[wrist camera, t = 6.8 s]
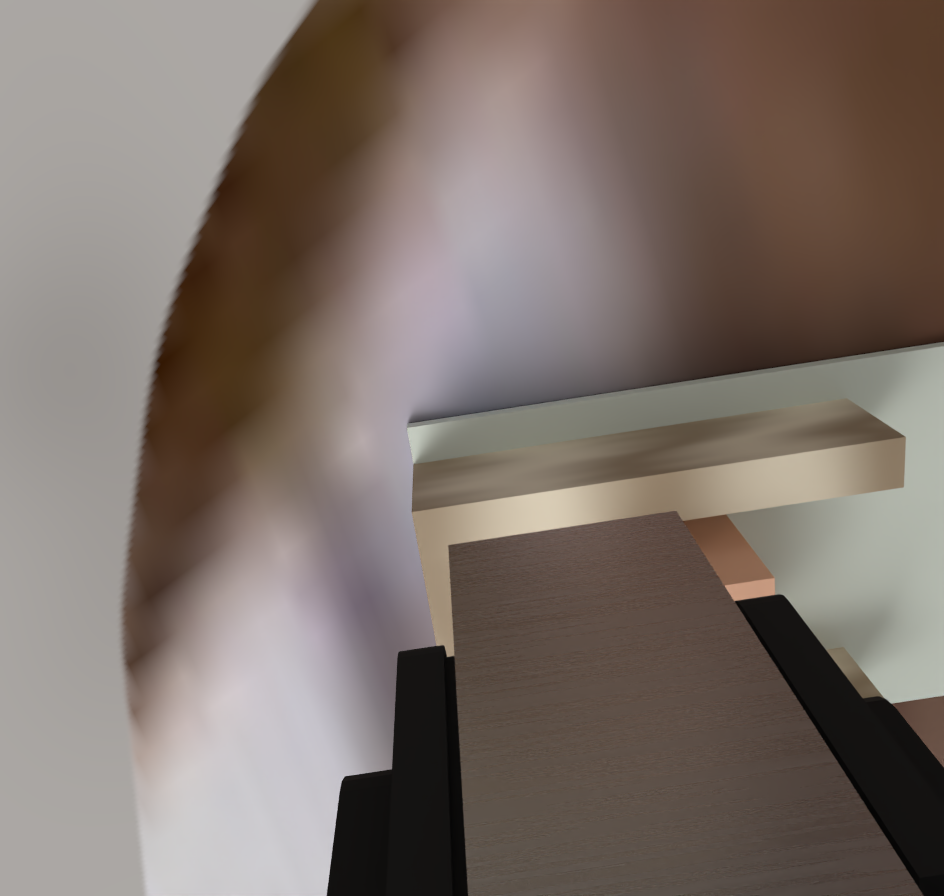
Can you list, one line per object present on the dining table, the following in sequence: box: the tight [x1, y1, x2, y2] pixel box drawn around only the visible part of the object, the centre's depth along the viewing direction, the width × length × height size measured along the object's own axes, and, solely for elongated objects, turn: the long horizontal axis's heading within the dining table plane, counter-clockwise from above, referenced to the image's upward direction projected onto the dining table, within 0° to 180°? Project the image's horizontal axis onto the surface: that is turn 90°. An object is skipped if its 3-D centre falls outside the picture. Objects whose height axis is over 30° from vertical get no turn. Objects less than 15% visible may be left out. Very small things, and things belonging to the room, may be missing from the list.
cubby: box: [412, 398, 906, 698], centre depth 27 cm, size 14×11×4 cm
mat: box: [407, 342, 944, 703], centre depth 29 cm, size 26×13×1 cm, turn 98°
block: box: [683, 514, 775, 601], centre depth 26 cm, size 5×5×5 cm
